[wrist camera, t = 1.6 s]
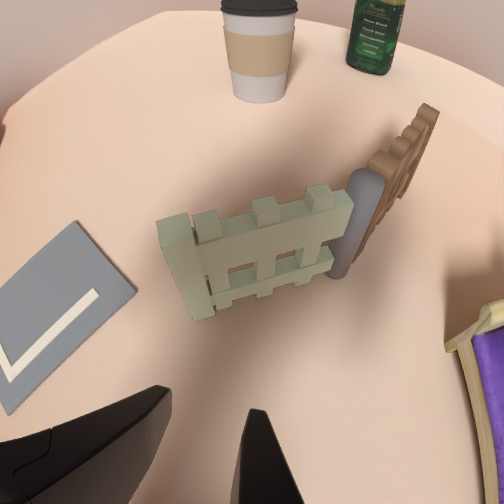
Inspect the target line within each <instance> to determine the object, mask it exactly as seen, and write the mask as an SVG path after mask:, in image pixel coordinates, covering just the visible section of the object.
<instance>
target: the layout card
mask: <svg viewBox="0 0 504 504" xmlns="http://www.w3.org/2000/svg"><path fill="white" fill-rule="evenodd" d="M136 293H137V292H136V291H135V290H134V289H133V288H132V286H131V285H130V284H129V283H128V282H127V281H126V280H125V279H124V278H123V277H122V275H121V274H120V273H119V272H118V271H117V270H116V269H115V268H114V267H113V265H112V264H111V263H110V262H109V261H108V260H107V259H106V257H105V256H104V255H103V254H102V253H101V252H100V250H99V249H98V248H97V247H96V246H95V244H94V243H93V242H92V241H91V240H90V239H89V237H88V236H87V235H86V234H85V232H84V231H83V230H82V229H81V228H80V226H79V225H78V224H77V223H76V221H75V220H74V221H73V222H72V223H71V224H69V225H68V226H67V227H66V228H65V229H64V230H62V231H61V232H60V233H59V234H58V235H57V236H55V237H54V238H53V239H52V240H51V241H50V242H49V243H48V244H46V245H45V246H44V247H43V248H42V249H41V250H40V251H39V252H38V253H36V254H35V255H34V256H33V257H32V258H31V259H30V260H29V261H28V262H27V263H26V264H25V265H24V266H23V267H22V268H21V269H19V270H18V271H17V272H16V273H15V274H14V275H13V276H12V277H11V278H10V279H9V280H8V281H7V282H6V283H5V284H4V285H3V286H2V287H1V288H0V402H1V404H2V405H3V407H4V409H5V411H6V413H7V415H9V416H10V415H11V414H12V413H13V412H14V411H15V410H16V409H17V408H18V407H19V406H20V405H21V404H22V403H23V402H24V401H25V400H26V399H27V398H28V397H29V396H30V395H31V393H32V392H33V391H34V390H35V389H36V388H37V387H38V386H39V385H40V384H41V383H42V382H43V381H44V380H45V379H46V378H47V377H49V376H50V375H51V374H52V373H53V372H54V371H55V370H56V369H57V368H58V367H59V366H60V365H61V364H62V363H63V362H64V361H65V360H66V359H67V358H68V357H69V356H70V355H71V354H72V353H73V352H74V351H75V350H76V349H77V348H78V347H79V346H80V345H81V344H83V343H84V342H85V341H86V340H87V339H88V338H89V337H90V336H91V335H92V334H93V333H94V332H95V331H96V330H97V329H98V328H99V327H101V326H102V325H103V324H104V323H105V322H106V321H107V320H108V319H109V318H110V317H111V316H112V315H113V314H115V313H116V312H117V311H118V310H119V309H120V308H121V307H122V306H123V305H124V304H125V303H127V302H128V301H129V300H130V299H131V298H132V297H133V296H134V295H135V294H136Z"/></svg>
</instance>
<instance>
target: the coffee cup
mask: <svg viewBox="0 0 504 504" xmlns="http://www.w3.org/2000/svg"><path fill="white" fill-rule="evenodd" d="M221 5H222V7H221V11H222V12H223V18H224V26H223V29H224V36H225V43H226V50H227V57H228V64H229V68H230V70H231V77H232V84H233V92H234V95H235V96H236V97H237V98H238V99H240V100H242V101H245V102H250V103H270V102H274V101H277V100H279V99H281V98H282V97H283V96H284V92H285V85H286V78H287V71H288V69H289V65H290V58H291V52H292V45H293V38H294V31H295V26H294V22H295V15H296V12H297V11H298V8H297V2H296V1H295V0H222V1H221Z"/></svg>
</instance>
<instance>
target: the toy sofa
mask: <svg viewBox="0 0 504 504" xmlns="http://www.w3.org/2000/svg"><path fill="white" fill-rule="evenodd" d="M445 350H446V352H447V353H450V352H453V351H456V350H458V353H459V357H460V360H461V364H462V368H463V371H464V375H465V379H466V383H467V387H468V391H469V395H470V399H471V404H472V409H473V413H474V418H475V423H476V428H477V433H478V439H479V446H480V453H481V461H482V469H483V478H484V488H485V501H486V504H504V298H502V299H499V300H496V301H492V302H489V303H486V304H484V305H483V306H482V308H481V309H480V311H479V319H478V320H477V321H476V322H475V323H473V324H472V325H471V326H469V327H468V328H466V329H465V330H464V331H462V332H461V333H459V334H458V335H456V336H455V337H453V338H452V339H450V340H448V341H447V342H445Z"/></svg>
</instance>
